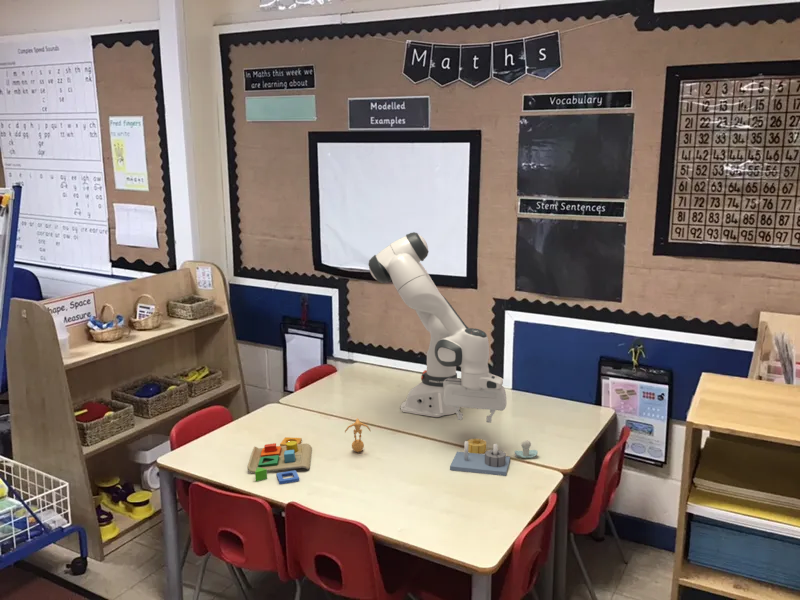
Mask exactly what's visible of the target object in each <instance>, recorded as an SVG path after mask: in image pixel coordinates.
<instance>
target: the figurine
mask: <svg viewBox="0 0 800 600" xmlns="http://www.w3.org/2000/svg"><path fill="white" fill-rule="evenodd" d="M352 427H354V429H353V435H354V437H353V438H354V440H353V441H352V443H351V449H352V450H353V451H354V452H356V453H359V452H362V451H363V450H364V448H365V443H364V442H363V440H361V439H362V433H363V429H362V428H361V427H366V428H367V429H368V431H369V432H371V429H370V427H369V426H368V425H367V424H365V423H363V422H361V421H360V420H359V418H356V420H355V422H353V423H352V424H350V425H348V426H347V428H346V429H345V430H344V433H347V431H348V430H349V428H352ZM356 434H359V435H358V437H359V438H358V439H357V435H356Z"/></svg>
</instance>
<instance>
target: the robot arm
mask: <svg viewBox="0 0 800 600" xmlns="http://www.w3.org/2000/svg"><path fill="white" fill-rule="evenodd" d="M428 255H429V246H428V244H427V241H426V240H425V238H424V237H423V235H420V234H419V233H418V232H414V231H413V232H410V233H407V234H406V235H405V236H403V237H400V238H399V239H396V240H395V241H393V242H391V243H390V244H389V245H388V246H386V247H385V248H383V249H382V250H380V251H378V253H377V254H374V255H373V256H372V257H371V258H370V259H369V260H368V263H367V264H368V269H369V273H370V274H371V276H372V278H373V279H375V280H376V281H378V282H379V283H382V284H387V283H391V282H392V284H393V286H394V288H395V289H396V291H397V293H398V295H399V296H400V298H401V301H403V302H404V304H405V305H406V306H407V307H408V308H409V309H412V310H414V311H415V313H416V315H417V316H418V318H419V320H420V322H421V323H422V325H423V327H424V328H425V330H426V331H427V332H429V335H430V341H429V345H428V346H429V347H428V350H427V352H426V369H425V370H423V372H422V374H421V375H420V380H421V382H419V383H418V384H417V385H415V386H414V387H412V388H411V389H410V390H409V391H408V393H407V397H406V400H405V401H403V402H402V403H401V405H400V408H401V409H400V411H401V412H402V411H403V413H407V414H416V415H421V416H427V417H434V418H439V417H443V416H448V415H453V414H456V416H457V418H456V419H457V420H459V421H462V420H463V419H464V417H463V416H464V413H463V412H461V411H460V410H461V408H467V409H477V410H478V409H479V410H489V413H490V414H489V415H487V416H486V420H485V421H486V423H492V421H493V416H494V414H495V413H496V411H501V412H502V411H504V410H505V409H506V408H507V393H506V388H505V387H504V386H503V384H504V379H503V377H500V376H498V375H495V374H492V373H491V372H490V368H489V360H490V343H489V337H488V335H487V333H486V332H485V331H484V330H483V329H479V328H473V327H469V326H467V324H466V323H465V322H464V320H462V318H461V317H460V315H459V314H458V313H457V311H456V310H455V308H454V307H453V306H452V305H451V303H450V302H449V301H448V299H447V298H446V297H445V296H444V295H443V294H442V293H440V291H439V289H438V287H437V286H436V284H435V282H434V280H432V277H431V276H430V274H429V273H428V271H427V269H426V268H425V267H424V265H423V264H422V263H421V262H424V261H425V259H426V258H427V257H428ZM457 367H460V371H461V372H460V373H461V374H460V377H458V373H457Z"/></svg>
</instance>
